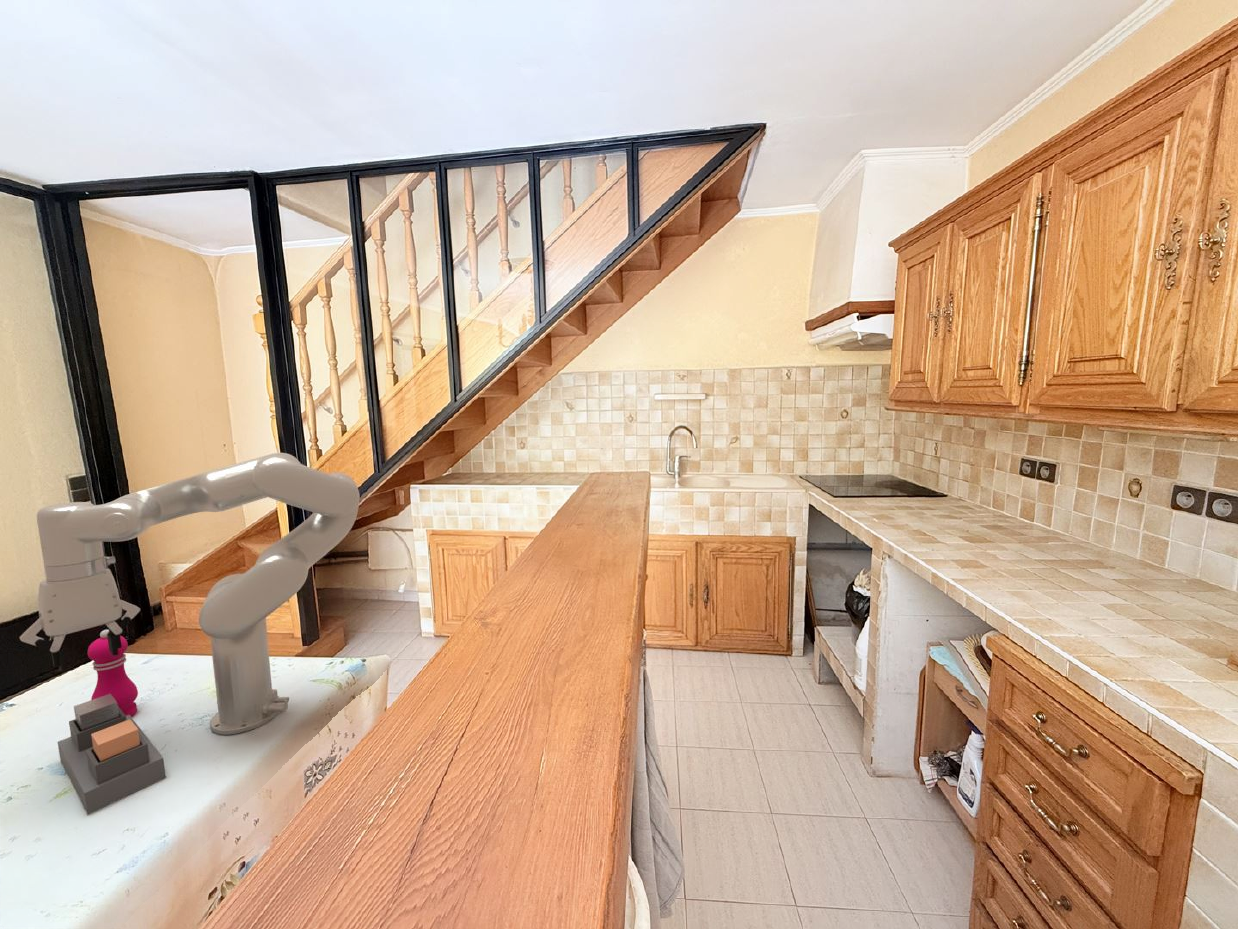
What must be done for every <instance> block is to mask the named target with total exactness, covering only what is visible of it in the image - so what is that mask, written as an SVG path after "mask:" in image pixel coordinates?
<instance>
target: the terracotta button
mask: <svg viewBox="0 0 1238 929" xmlns="http://www.w3.org/2000/svg"><path fill="white" fill-rule="evenodd" d="M91 736H92V743H93V750H94V751H95V753H96V755H97V756H98V758H99V760H100V761H103V760H105V759H107V758H110V757H112V756H114V755H117V754H119V753H122V752H124V751H126V750H129V749H131V748H133V747H136V746H138V745H140V740H139V732H138V729H137V727H136V726H135V725H134V723H133V722H132V721H131V720H130V719H129V720H126V721H124V722H121V723H119V724H116V725H113V726H111V727H108V728H106V729H103V730H100V731H98V732H95V733H93V734H91Z"/></svg>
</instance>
